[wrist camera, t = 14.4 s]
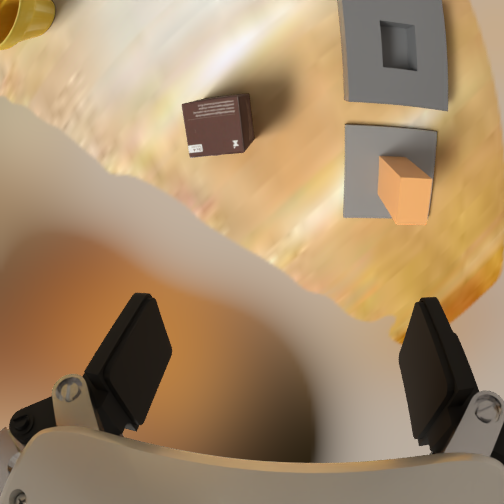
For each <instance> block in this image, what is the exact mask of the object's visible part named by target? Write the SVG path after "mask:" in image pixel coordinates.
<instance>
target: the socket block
mask: <svg viewBox="0 0 504 504" xmlns="http://www.w3.org/2000/svg"><path fill="white" fill-rule="evenodd" d="M337 2H338V12H339V22H340V33H341V45H342V60H343V78H344V100H346V101H348V102H366V103H381V104H393V105H403V106H412V107H421V108H428V109H436V110H442V111H448V63H447V46H446V33H445V23H444V14H443V7H442V0H337Z"/></svg>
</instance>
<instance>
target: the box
mask: <svg viewBox="0 0 504 504" xmlns="http://www.w3.org/2000/svg"><path fill="white" fill-rule="evenodd" d="M182 110H183V117H184V123H185V129H186V136H187V142H188V149H189V155H190V158H193V157H202V156H211V155H212V156H217V155H222V154H234V153H243V152H245V150H246V149H247V148H248V147H249V145H250V144H251V143H252V142H253V140H254V132H253V123H252V114H251V106H250V98H249V94H238V95H227V96H220V97H213V98H206V99H201V100H197V101H193V102H189V103H184V104H182Z"/></svg>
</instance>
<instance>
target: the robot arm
mask: <svg viewBox="0 0 504 504" xmlns="http://www.w3.org/2000/svg"><path fill="white" fill-rule="evenodd" d="M171 355H172V347H171V344H170V341H169V338H168V336H167V333H166V330H165V327H164V324H163V321H162V318H161V315H160V312H159V308H158V305H157V302H156V299H155V298H152V296H151V295H150V294H147V293H135V294H134V295H133V296H132V297H131V299H130V300H129V302H128V303H127V305H126V306H125V308H124V309H123V311H122V312H121V314H120V316H119V317H118V319H117V320H116V322H115V323H114V325H113V326H112V328H111V329H110V331H109V333H108V334H107V336H106V337H105V339H104V340H103V342H102V343H101V345H100V347H99V348H98V350H97V351H96V353H95V355H94V356H93V358H92V360H91V361H90V363H89V365H88V366H87V368H86V370H85V371H84V372H85V373H84V375H83V377H82V376H80V375H77V374H69V375H66V376H64V377H62V378H60V379H59V380H58V381H57V382H56V383H55V385H54V387H53V389H52V396H51V397H49V398H47V399H44V400H42V401H40V402H37V403H35V404H32V405H30V406H28V407H25V408H23V409H21V410H19V411H17V412H16V413H15V414H14V415H13V416H12V418H11V420H10V424H9V429H7V428H6V427H5V428H3V429H2V430H1V431H0V504H504V401H503V400H502V399H501V397H500V396H499V395H497V394H496V393H494V392H491V391H481V392H479V390H478V387H477V384H476V381H475V379H474V376H473V373H472V370H471V368H470V365H469V363H468V360H467V358H466V355H465V353H464V350H463V348H462V346H461V343H460V341H459V339H458V336H457V335H456V334H455V333H454V332H453V331H452V329H451V327H450V324H449V322H448V320H447V318H446V315H445V313H444V311H443V309H442V307H441V305H440V303H439V301H438V299H437V298H436V297H427V298H421V299H420V301H419V302H416V303H415V306H414V309H413V313H412V316H411V319H410V323H409V326H408V329H407V332H406V335H405V338H404V341H403V344H402V347H401V351H400V353H399V365H400V369H401V374H402V379H403V383H404V388H405V393H406V398H407V402H408V408H409V413H410V419H411V425H412V431H413V437H414V438H415V439H418V443H419V446H423V445H429V446H430V450H431V453H430V455H423V456H415V457H407V458H399V459H389V460H377V461H365V462H347V463H286V462H268V461H255V460H244V459H235V458H226V457H219V456H212V455H206V454H199V453H193V452H188V451H182V450H177V449H172V448H167V447H162V446H158V445H154V444H149V443H145V442H141V441H137V440H133V439H129V438H125V437H123V434H122V433H123V431H124V428H126V429H129V430H133V431H137V429H138V427H139V425H142V424H143V423H144V421H145V418H146V416H147V413H148V411H149V408H150V406H151V403H152V401H153V399H154V396H155V394H156V391H157V388H158V386H159V384H160V382H161V379H162V377H163V374H164V372H165V370H166V367H167V365H168V362H169V360H170V358H171Z"/></svg>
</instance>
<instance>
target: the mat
mask: <svg viewBox="0 0 504 504" xmlns="http://www.w3.org/2000/svg"><path fill="white" fill-rule="evenodd" d="M436 143H437V132H436V131H431V130H422V129H412V128H401V127H388V126H373V125H351V124H345V180H344V208H343V217H344V218H392V217H391V215H390V214H389V212H388V210H387V209H386V207H385V205H384V204H383V202H382V200H381V199H380V197H379V196H378V194H377V193H378V176H379V156H394V157H406V158H407V159H409V160H410V161H411V162H412V163H414V164H415V165H416V166H417V167H419V168H420V169H421V170H422V171H423V172H425V173H426V174H427V175H428V176H429V177H431V178H432V185H433V177H434V167H435V156H436ZM431 193H432V187H431ZM430 201H431V196H430ZM429 208H430V204H429ZM428 214H429V211H428ZM427 219H428V217H427Z"/></svg>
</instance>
